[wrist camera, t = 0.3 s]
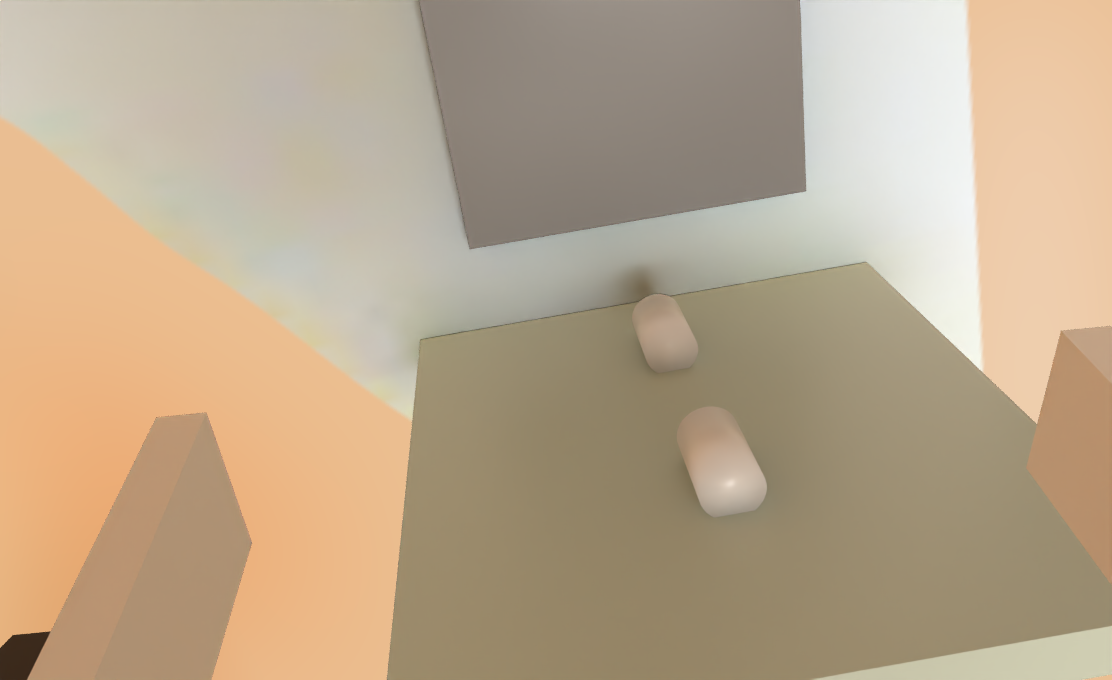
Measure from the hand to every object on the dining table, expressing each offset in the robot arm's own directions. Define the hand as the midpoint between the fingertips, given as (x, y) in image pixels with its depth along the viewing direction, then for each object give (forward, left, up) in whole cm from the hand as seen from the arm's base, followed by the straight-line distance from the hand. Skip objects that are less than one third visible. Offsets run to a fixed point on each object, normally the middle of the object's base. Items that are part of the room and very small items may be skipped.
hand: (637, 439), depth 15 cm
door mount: (0, +3, -25) cm, 25 cm away
